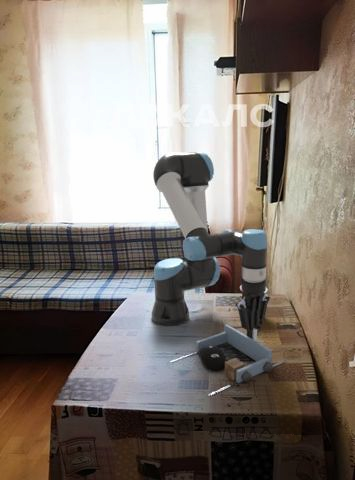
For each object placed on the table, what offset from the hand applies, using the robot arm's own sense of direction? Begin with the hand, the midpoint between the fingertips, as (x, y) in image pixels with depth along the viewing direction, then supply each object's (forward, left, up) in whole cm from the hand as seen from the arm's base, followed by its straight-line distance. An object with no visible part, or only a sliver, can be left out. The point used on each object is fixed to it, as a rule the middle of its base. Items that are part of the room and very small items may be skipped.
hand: (252, 346), depth 122 cm
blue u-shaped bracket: (0, -8, -2) cm, 8 cm away
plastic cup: (-20, +19, -2) cm, 28 cm away
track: (0, -11, -2) cm, 11 cm away
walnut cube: (+7, -13, -2) cm, 15 cm away
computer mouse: (-3, -14, -2) cm, 14 cm away
